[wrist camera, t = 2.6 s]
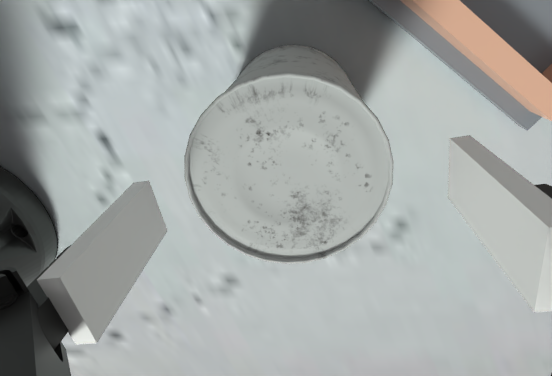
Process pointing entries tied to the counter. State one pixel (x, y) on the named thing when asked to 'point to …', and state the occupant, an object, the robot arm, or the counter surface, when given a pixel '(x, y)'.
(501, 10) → the docking cradle
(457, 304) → the counter surface
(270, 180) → the grey stone cylinder
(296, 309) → the counter surface
